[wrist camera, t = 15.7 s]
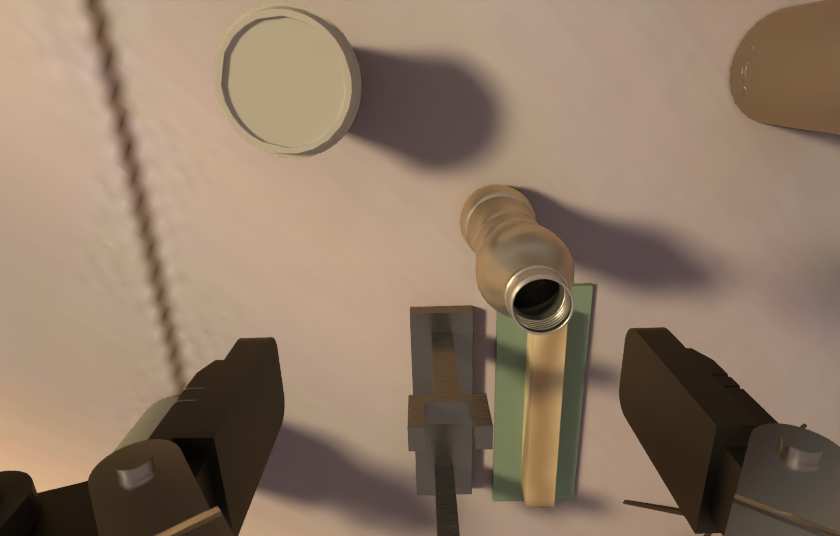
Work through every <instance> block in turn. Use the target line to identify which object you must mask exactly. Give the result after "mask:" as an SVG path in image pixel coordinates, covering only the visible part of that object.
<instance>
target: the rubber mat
mask: <svg viewBox="0 0 840 536" xmlns="http://www.w3.org/2000/svg"><path fill="white" fill-rule="evenodd" d="M571 292H572V295H573V299H574V311H573V315H572V317H571V319H570V320H569V322H568V324H567V338H566V351H565V365H564V379H563V392H562V406H561V419H560V433H559V446H558V460H557V474H556V487H555V500H573V496H574V485H575V474H576V464H577V453H578V442H579V432H580V421H581V410H582V399H583V389H584V378H585V367H586V357H587V346H588V335H589V324H590V314H591V303H592V292H593V285H592V284H591V283H584V284H573V287H572V291H571ZM526 350H527V332H526V331H524V330H522V329H521V328H520V327H519V326H518V325H517V324H516V323H515V321H514V320H513V319H512V318H509V317H507V316H505V315H503V314H501V313H500V312H498V311H497V331H496V371H495V412H494V453H493V494H492V498H493V501H524V499H523V495H522V491H521V487H520V486H521V464H522V441H523V418H524V396H525V373H526Z"/></svg>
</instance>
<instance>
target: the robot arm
mask: <svg viewBox="0 0 840 536" xmlns="http://www.w3.org/2000/svg"><path fill="white" fill-rule="evenodd" d="M730 85H731V92H732V95H733V98H734V100H735V103H736V104H737V106H738V107H739V108H740V110H741V111H742V112H743V113H744V114H745V115H747V116H748V117H749V118H751V119H753V120H755V121H757V122H760V123H765V124H771V125H778V126H785V127H791V128H797V129H804V130H811V131H818V132H825V133H832V134H839V135H840V0H824V1H818V2H813V3H807V4H802V5H796V6H791V7H787V8H783V9H780V10H778V11H776V12H774V13H772V14H769V15H768V16H766V17H765V18H764V19H762V20H761V21H759V22H758V23H757V24H756V25H755V26H754V27H753V28H752V29H751V30H750V31H749V32H748V33H747V35H746V36H745V37H744V39H743V40H742V42H741V43H740V45H739V47H738V49H737V51H736V53H735V56H734V59H733V62H732V66H731V73H730ZM619 398H620V404H621V408H622V412H623V414H624V416H625V418H626V420H627V421H628V423H629V425H630V426H631V428H632V430H633V431H634V433H635V435H636V436H637V438H638V440H639V441H640V443H641V445H642V446H643V448H644V450H645V451H646V453H647V455H648V456H649V458H650V460H651V461H652V463H653V465H654V466H655V468H656V470H657V471H658V473H659V475H660V476H661V478H662V480H663V481H664V483H665V485H666V486H667V488H668V490H669V491H670V493H671V495H672V496H673V498H674V500H675V501H676V503H677V505H678V506H679V508H680V509H681V511H682V513H683V514H684V516H685V518H686V519H687V521H688V523H689V524H690V526H691V528H692V529H693V531H694V533H695V534H701V533H722V535H723V536H840V446H838V445H837V444H835V443H834V442H832V441H831V440H829V439H828V438H826V437H824V436H822V435H820V434H818V433H815V432H813V431H810V430H807V429H804V428H801V427H797V426H794V425H788V424H780V423H778V422H777V421H775V420H774V419H773V418H772V417H771V416H770V415H769V414H768V413H767V412H766V411H765V410H764V409H763V408H762V407H761V406H760V405H759V404H758V403H757V402H756V401H755V400H754V399H753V398H752V397H751V396H750V395H749V394H748V393H747V392H746V391H745V390H744V389H740V386H739V385H738V384H737V383H736V382H735V381H734V380H733V379H732V378H731V377H728V374H727V373H726V372H725V371H724V370H723V369H722V368H721V367H720V366H719V365H718V364H717V363H716V362H715V361H714V360H712V359H710V358H708V357H707V356H705V355H703V354H701V353H699V352H697V351H696V350H694V349H692V348H685V347H684V346H683V344H682V343H681V342H680V341H679V340H678V339H677V338H676V337H675V336H674V335H673V334H672V333H671V332H670V331H669V330H668V329H667V328H663V327H661V328H631V329H629V330H628V332H627V334H626V338H625V345H624V353H623V362H622V370H621V378H620V386H619ZM283 416H284V392H283V384H282V377H281V370H280V363H279V356H278V349H277V344H276V341H275V339H274V338H272V337H268V338H240V339H238V341H237V342H236V343H235V345H234V346H233V348H232V349H231V351H230V352H229V354H228V355H227V357H226V358H225V359H224V360H215V361H214V362H212V363H211V364H209V365H208V366H206V367H205V368H203V369H202V370H200V371H199V372H198V373H196V375H195V376H194V377H193V379H192V380H191V381H190V383H189V384H188V386H187V387H186V390H184V391H183V392H182V394H181V395H180V396H179V398H178V399H177V403H174V404H173V406H172V407H171V408H170V410H169V411H168V412H167V414H166V415H165V416H164V418H163V419H162V421H161V422H160V423H159V425H158V426H157V427H156V429H155V430H154V431H153V433H152V434H151V435H150V437H149V438H148V439H147V440H144V441H140V442H136V443H133V444H130V445H127V446H125V447H123V448H120V449H119V450H117V451H115V452H113V453H111V454H110V455H108V456H107V457H106V458H104V459H103V460H102V461H101V462H100V463H99V464H98V465H96V467H95V468H94V469H93V470H92V472H91V474H90V476H89V479H88V481H86V482H82V483H78V484H74V485H70V486H65V487H61V488H57V489H53V490H49V491H45V492H40V493H37V491H36V489H35V486H34V483H33V480H32V478H31V477H30V476H29V475H28V474H27V473H24V472H21V471H2V472H0V536H238V534H239V532H240V529H241V527H242V524H243V522H244V519H245V517H246V514H247V511H248V509H249V506H250V504H251V501H252V499H253V496H254V494H255V491H256V489H257V486H258V483H259V481H260V478H261V476H262V473H263V471H264V468H265V466H266V463H267V460H268V458H269V455H270V453H271V450H272V448H273V445H274V443H275V440H276V437H277V435H278V432H279V430H280V427H281V425H282V421H283Z"/></svg>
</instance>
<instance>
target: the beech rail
mask: <svg viewBox="0 0 840 536" xmlns="http://www.w3.org/2000/svg"><path fill="white" fill-rule="evenodd" d="M567 324H568V323H567ZM567 324H566V325H565V326H564V327H563V328H562V329H560V330H558V331H557V332H554V333H552V334H547V335H535V334H531V333H528V332H527V350H526V373H525V396H524V418H523V441H522V464H521V486H520V487H521V491H522V495H523V499H524V503H525V507H526V508H537V507H554V501H555V487H556V474H557V460H558V446H559V433H560V419H561V406H562V392H563V379H564V365H565V351H566V338H567Z"/></svg>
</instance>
